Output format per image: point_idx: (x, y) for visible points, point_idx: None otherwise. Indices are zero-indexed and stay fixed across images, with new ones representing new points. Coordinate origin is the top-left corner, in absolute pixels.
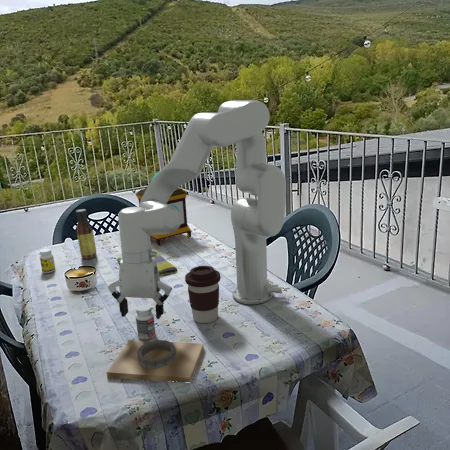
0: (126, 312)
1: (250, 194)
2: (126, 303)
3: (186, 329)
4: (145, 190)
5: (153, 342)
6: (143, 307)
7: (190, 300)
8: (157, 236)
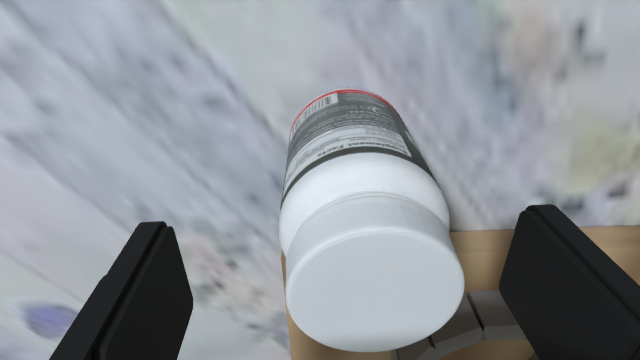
0: (177, 270)
1: None
2: (136, 340)
3: (627, 28)
4: None
5: (464, 345)
6: (371, 294)
7: None
8: None
